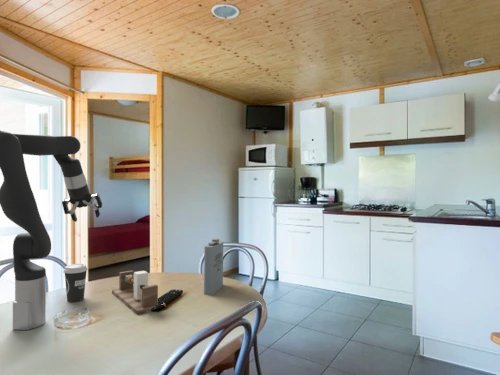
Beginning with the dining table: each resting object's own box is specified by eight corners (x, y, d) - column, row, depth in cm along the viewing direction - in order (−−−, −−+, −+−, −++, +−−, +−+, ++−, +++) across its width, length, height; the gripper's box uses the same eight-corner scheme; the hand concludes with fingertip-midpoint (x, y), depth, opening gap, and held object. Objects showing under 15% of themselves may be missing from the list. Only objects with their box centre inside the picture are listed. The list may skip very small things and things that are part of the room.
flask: (212, 295, 151) (212, 241, 151) (202, 294, 153) (203, 241, 152) (225, 284, 168) (225, 236, 168) (217, 283, 169) (217, 235, 169)
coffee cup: (69, 305, 137) (69, 269, 137) (59, 300, 143) (59, 266, 143) (91, 298, 145) (91, 265, 145) (81, 294, 151) (81, 262, 151)
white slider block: (147, 297, 141) (147, 272, 141) (137, 300, 138) (137, 274, 138) (144, 295, 144) (144, 270, 144) (133, 297, 141) (133, 272, 141)
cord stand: (165, 307, 136) (165, 284, 136) (137, 314, 128) (137, 290, 128) (137, 288, 161) (137, 268, 160) (112, 293, 153) (112, 272, 153)
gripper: (55, 191, 126) (67, 226, 133) (94, 184, 130) (104, 219, 137) (58, 183, 132) (69, 217, 139) (96, 177, 136) (105, 211, 143)
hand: (87, 218), depth 138 cm, fingers open, 8 cm apart
